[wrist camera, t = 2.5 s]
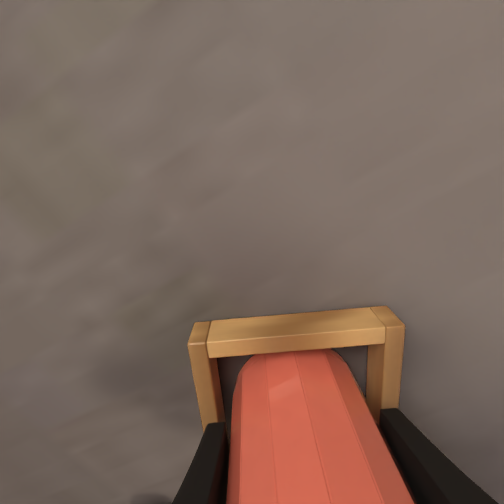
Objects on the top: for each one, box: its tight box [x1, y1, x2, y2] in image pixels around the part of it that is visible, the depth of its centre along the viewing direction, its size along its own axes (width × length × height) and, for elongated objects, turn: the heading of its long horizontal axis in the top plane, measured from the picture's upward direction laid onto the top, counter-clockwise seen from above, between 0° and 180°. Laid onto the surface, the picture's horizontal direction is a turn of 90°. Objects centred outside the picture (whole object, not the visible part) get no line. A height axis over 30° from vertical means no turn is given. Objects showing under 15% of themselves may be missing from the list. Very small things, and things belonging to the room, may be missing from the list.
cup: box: [226, 348, 417, 504], centre depth 10 cm, size 5×5×6 cm
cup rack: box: [187, 306, 405, 450], centre depth 13 cm, size 8×15×2 cm, turn 5°
